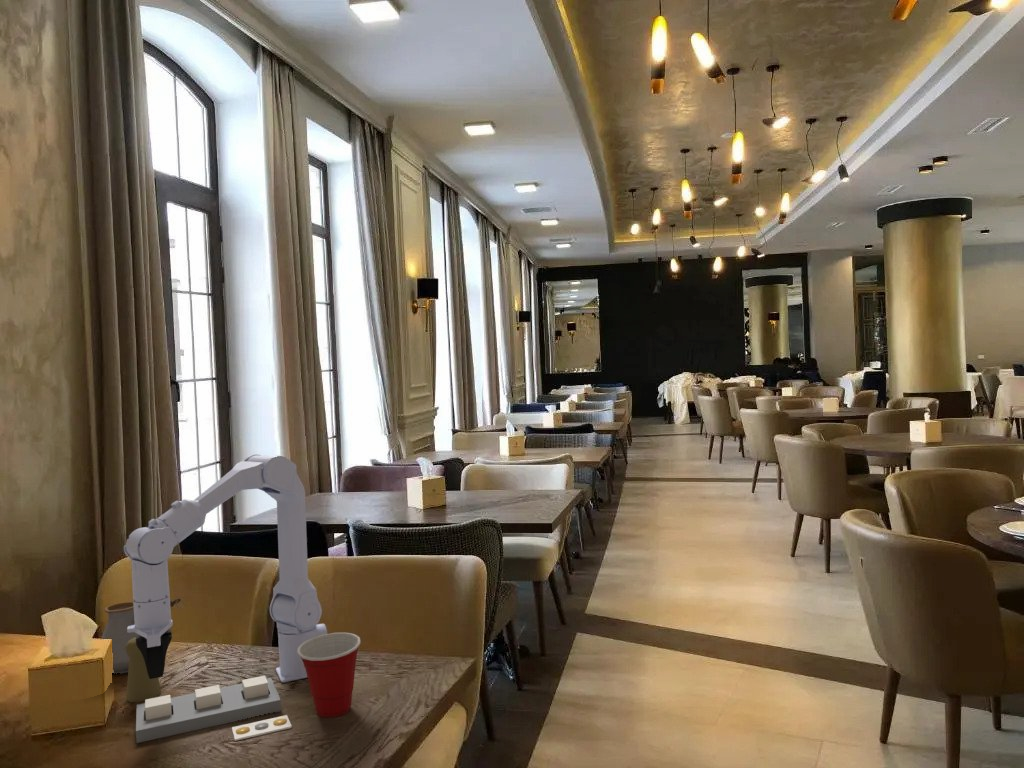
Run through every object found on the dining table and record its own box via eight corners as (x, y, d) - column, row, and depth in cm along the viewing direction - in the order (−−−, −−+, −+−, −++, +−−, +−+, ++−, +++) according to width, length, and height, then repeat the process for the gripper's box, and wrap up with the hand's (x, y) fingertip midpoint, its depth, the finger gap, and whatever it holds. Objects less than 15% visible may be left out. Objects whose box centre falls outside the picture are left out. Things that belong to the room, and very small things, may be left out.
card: (287, 716, 137) (286, 713, 137) (291, 727, 132) (291, 724, 132) (231, 729, 133) (231, 726, 133) (234, 741, 128) (234, 737, 128)
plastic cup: (287, 721, 135) (283, 651, 135) (324, 695, 145) (320, 630, 145) (342, 728, 131) (338, 655, 131) (376, 701, 141) (372, 634, 141)
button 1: (171, 708, 139) (170, 694, 139) (171, 717, 135) (171, 702, 135) (146, 713, 137) (145, 699, 137) (146, 722, 134) (145, 707, 134)
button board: (271, 687, 150) (271, 677, 150) (281, 711, 139) (280, 699, 139) (137, 716, 140) (136, 704, 140) (136, 743, 130) (135, 731, 129)
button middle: (219, 698, 142) (218, 684, 142) (221, 706, 139) (220, 692, 139) (195, 703, 141) (194, 689, 141) (196, 711, 137) (196, 697, 137)
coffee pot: (81, 675, 162) (76, 602, 162) (125, 655, 173) (120, 587, 173) (165, 683, 156) (160, 607, 155) (205, 662, 166) (201, 591, 166)
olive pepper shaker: (147, 702, 146) (143, 643, 146) (118, 701, 148) (115, 642, 147) (168, 689, 152) (164, 632, 152) (140, 688, 153) (136, 632, 153)
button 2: (265, 688, 146) (264, 675, 146) (268, 696, 142) (267, 682, 142) (243, 693, 144) (242, 680, 144) (245, 701, 140) (244, 687, 140)
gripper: (126, 592, 141) (131, 668, 141) (124, 612, 128) (129, 696, 128) (169, 585, 144) (174, 660, 144) (172, 605, 131) (176, 687, 131)
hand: (156, 676), depth 136 cm, fingers closed
